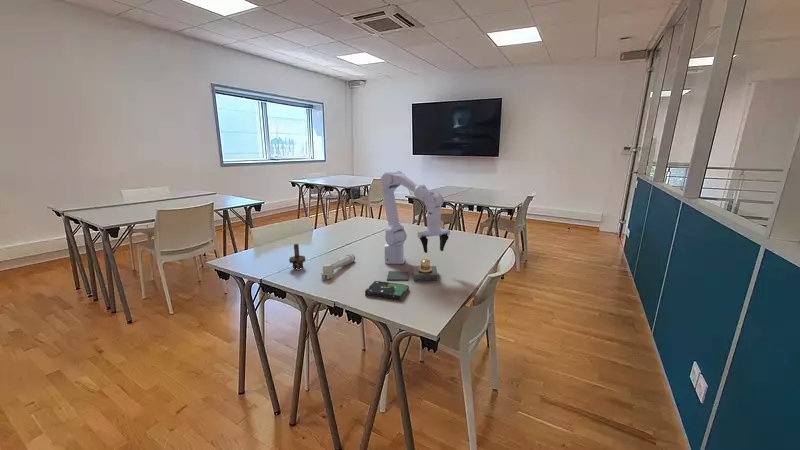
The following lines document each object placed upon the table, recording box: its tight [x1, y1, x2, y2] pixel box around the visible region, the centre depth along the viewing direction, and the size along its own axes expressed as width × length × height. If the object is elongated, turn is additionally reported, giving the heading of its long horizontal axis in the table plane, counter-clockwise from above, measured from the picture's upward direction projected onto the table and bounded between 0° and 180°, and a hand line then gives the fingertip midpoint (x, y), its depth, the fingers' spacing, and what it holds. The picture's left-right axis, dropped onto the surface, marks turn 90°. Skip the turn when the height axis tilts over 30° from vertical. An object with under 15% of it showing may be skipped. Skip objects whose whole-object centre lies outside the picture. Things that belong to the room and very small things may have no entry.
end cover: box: [418, 258, 432, 273], centre depth 141 cm, size 6×6×8 cm
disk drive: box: [364, 280, 410, 302], centre depth 127 cm, size 10×3×15 cm
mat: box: [386, 270, 409, 282], centre depth 143 cm, size 9×9×1 cm
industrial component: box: [288, 243, 306, 270], centre depth 153 cm, size 9×7×12 cm
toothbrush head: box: [320, 253, 356, 280], centre depth 151 cm, size 5×7×25 cm
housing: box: [413, 265, 438, 283], centre depth 142 cm, size 10×10×3 cm
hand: (433, 251), depth 144 cm, fingers open, 7 cm apart
